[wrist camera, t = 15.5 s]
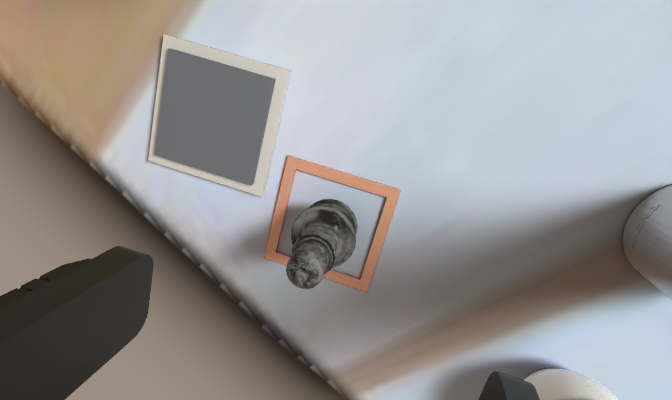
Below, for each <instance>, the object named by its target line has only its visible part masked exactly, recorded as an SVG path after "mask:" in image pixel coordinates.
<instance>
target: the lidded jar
mask: <svg viewBox="0 0 672 400" xmlns="http://www.w3.org/2000/svg"><path fill="white" fill-rule="evenodd" d="M524 381H527V382H530V383H532V384H533V385H534V387H535V389H536V391H537V394H538V396H539V399H540V400H618V399H617V397H616V396H615V395H614V394H613V393H611V392H610V391H609V390H608V389H607V388H606V387H604V386H603V385H602V384H600V383H599V382H597V381H595V380H594V379H592V378H590V377H588V376H586V375H584V374H581V373H578V372H575V371H571V370H565V369H555V368H548V369H542V370H538V371H536V372H534V373H532V374H530V375H529V376H528V377H526V378H525V379H524Z"/></svg>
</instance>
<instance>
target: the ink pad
mask: <svg viewBox="0 0 672 400" xmlns="http://www.w3.org/2000/svg"><path fill="white" fill-rule="evenodd" d="M290 76H291V70H287V69H284V68H280V67H277V66H273V65H270V64H266V63H263V62H259V61H256V60H253V59H249V58H246V57H242V56H239V55H235V54H232V53H228V52H225V51H221V50H218V49H214V48H211V47H207V46H204V45H200V44H197V43H193V42H190V41H186V40H183V39H179V38H176V37H172V36H169V35H163V43H162V51H161V59H160V68H159V76H158V84H157V92H156V100H155V109H154V117H153V125H152V133H151V141H150V150H149V158H148V161H151V162H154V163H157V164H160V165H164V166H167V167H170V168H173V169H176V170H179V171H182V172H185V173H189V174H192V175H195V176H198V177H201V178H204V179H207V180H211V181H214V182H217V183H220V184H223V185H226V186H229V187H233V188H236V189H239V190H242V191H245V192H248V193H251V194H255V195H258V196H261V197H262V196H263V195H264V193H265V189H266V184H267V180H268V175H269V171H270V166H271V162H272V157H273V153H274V148H275V144H276V139H277V134H278V130H279V125H280V121H281V116H282V112H283V107H284V103H285V98H286V94H287V89H288V85H289V80H290Z"/></svg>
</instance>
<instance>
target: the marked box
mask: <svg viewBox="0 0 672 400" xmlns="http://www.w3.org/2000/svg"><path fill="white" fill-rule="evenodd" d="M296 169H297V170H300V171H303V172H306V173H310V174H313V175H316V176H319V177H322V178H326V179H329V180H332V181H335V182H339V183H342V184H345V185H348V186H352V187H355V188H358V189H361V190H364V191H368V192H371V193H374V194H377V195H381V196H384V197H387V199H386V202H385V205H384V208H383V211H382V214H381V218H380V221H379V224H378V227H377V230H376V233H375V236H374V239H373V242H372V245H371V248H370V251H369V254H368V258H367V261H366V264H365V267H364V270H363V273H362V276H361V279H358V278H355V277H352V276H349V275H346V274H343V273H340V272H337V271H334V270H330V271H329V272H327V273H326V274H324V276H323V278H325V279H328V280H331V281H334V282H337V283H340V284H343V285H346V286H349V287H352V288H355V289H358V290H361V291H364V292H367V291H368V288H369V285H370V282H371V279H372V276H373V273H374V270H375V267H376V264H377V261H378V258H379V255H380V252H381V249H382V246H383V243H384V240H385V237H386V234H387V231H388V228H389V225H390V222H391V219H392V216H393V213H394V210H395V207H396V204H397V201H398V198H399V195H400V192H401V190H400V189H396V188H393V187H390V186H386V185H383V184H380V183H377V182H373V181H370V180H367V179H364V178H360V177H357V176H354V175H351V174H347V173H344V172H341V171H338V170H334V169H331V168H328V167H325V166H321V165H318V164H315V163H312V162H308V161H305V160H302V159H299V158H295V157H292V156H288V157H287V162H286V166H285V170H284V174H283V179H282V183H281V187H280V192H279V196H278V200H277V204H276V209H275V213H274V217H273V221H272V226H271V230H270V234H269V239H268V243H267V247H266V251H265V256H264V258H265V259H268V260H271V261H274V262H277V263H280V264H283V265H286V266H287V263H288V261H289V259H290V258H291V256H288V255H285V254H282V253H279V252H276V250H277V246H278V242H279V237H280V233H281V229H282V225H283V221H284V217H285V213H286V209H287V205H288V200H289V196H290V192H291V188H292V184H293V180H294V176H295V172H296Z"/></svg>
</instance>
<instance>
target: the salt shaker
mask: <svg viewBox="0 0 672 400" xmlns="http://www.w3.org/2000/svg"><path fill="white" fill-rule="evenodd" d="M356 233H357V221H356V217H355V215H354V213H353V212H352V210H351V209H350V208H349V207H348V206H347V205H345V204H344V203H342V202H340V201H337V200H333V199H325V200H321V201H318V202H316V203H315V204H313V205H312V206H311V207H310V208H309V209H308V210H305V211H304V212H303V213H302V214H300V215H299V216H298V218H297V219H296V220H295V222H294V224H293V227H292V233H291V239H292V243H293V248H292V256H291V258H290V259H289V261H288V263H287V269H286V272H287V276H288V278H289V280H290V281H291V282H292V283H293V284H294V285H295V286H297V287H299V288H302V289H310V288H313V287H315V286H316V285H318V284H319V283H320V281H321V280H322V278H323V276H324V274H326V273H327V272H329V271H330V270H331V268H333V267H336V266H339V265H341V264H343V263H344V262H345V261H347V260H348V258H349V257H350V256H351V255H352V253H353V250H354V248H355V242H356V236H355V235H356Z"/></svg>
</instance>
